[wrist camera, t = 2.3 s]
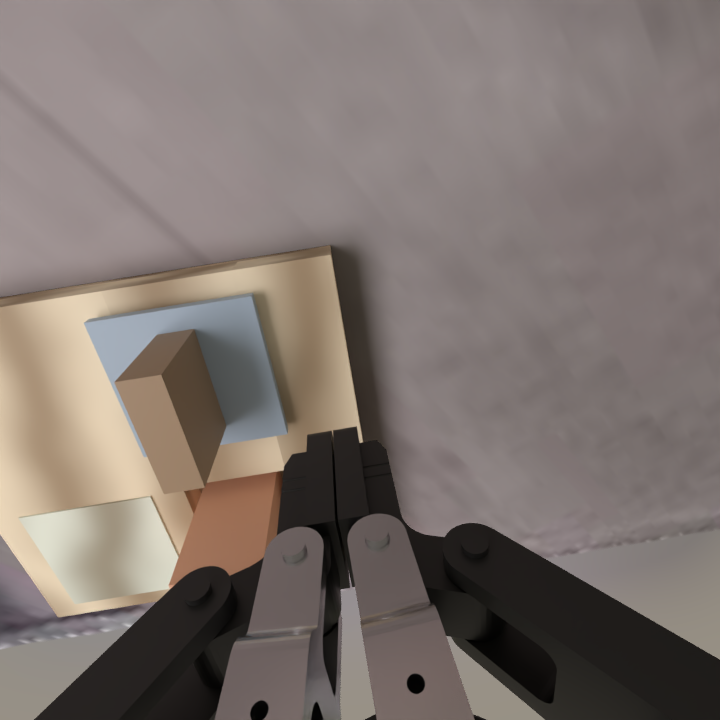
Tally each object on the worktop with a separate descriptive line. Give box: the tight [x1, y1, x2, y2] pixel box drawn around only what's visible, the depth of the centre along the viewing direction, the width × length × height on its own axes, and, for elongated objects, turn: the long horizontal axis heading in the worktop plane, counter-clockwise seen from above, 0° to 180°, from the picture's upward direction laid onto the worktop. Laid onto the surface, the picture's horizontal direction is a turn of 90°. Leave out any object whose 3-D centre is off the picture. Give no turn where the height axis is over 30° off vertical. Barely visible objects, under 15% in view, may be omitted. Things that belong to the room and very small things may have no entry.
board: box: [0, 245, 363, 617], centre depth 23 cm, size 20×19×2 cm
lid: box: [84, 293, 288, 494], centre depth 18 cm, size 7×7×5 cm
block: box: [169, 471, 283, 589], centre depth 23 cm, size 4×4×7 cm
